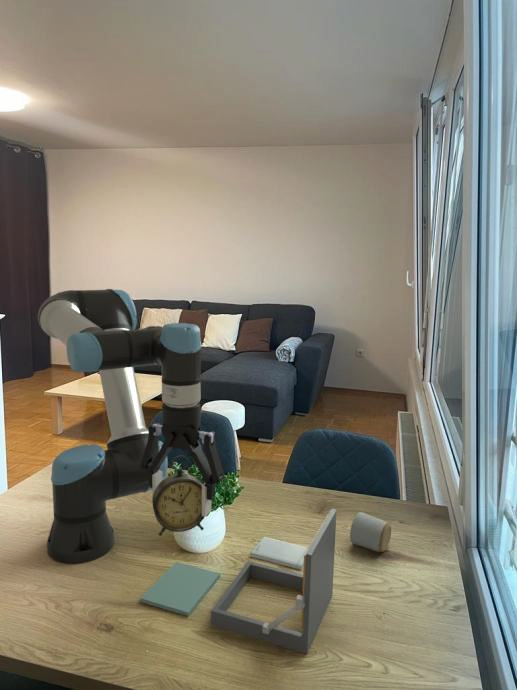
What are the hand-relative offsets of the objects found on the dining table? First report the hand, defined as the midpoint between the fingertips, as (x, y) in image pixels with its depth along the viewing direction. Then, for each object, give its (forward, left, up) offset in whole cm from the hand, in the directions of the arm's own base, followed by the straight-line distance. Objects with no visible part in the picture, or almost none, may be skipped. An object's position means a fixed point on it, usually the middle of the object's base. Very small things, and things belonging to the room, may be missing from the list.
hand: (181, 508), depth 110 cm
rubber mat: (0, 0, -18) cm, 18 cm away
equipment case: (+20, +2, -18) cm, 27 cm away
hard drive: (+15, +21, -19) cm, 32 cm away
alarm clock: (0, 0, -5) cm, 5 cm away
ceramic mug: (+33, +34, -18) cm, 51 cm away
